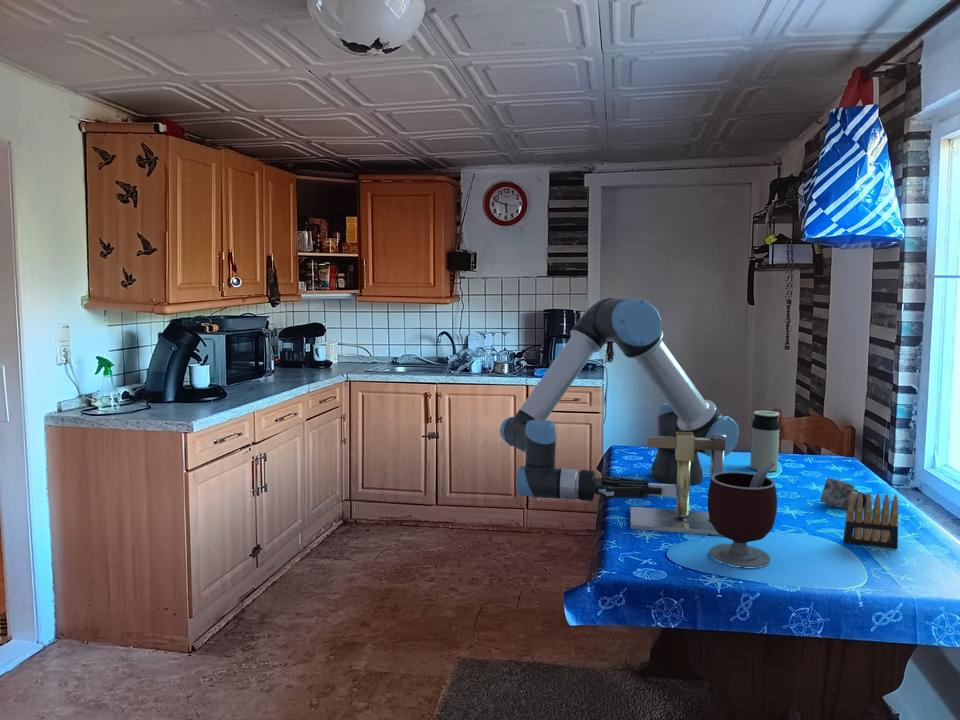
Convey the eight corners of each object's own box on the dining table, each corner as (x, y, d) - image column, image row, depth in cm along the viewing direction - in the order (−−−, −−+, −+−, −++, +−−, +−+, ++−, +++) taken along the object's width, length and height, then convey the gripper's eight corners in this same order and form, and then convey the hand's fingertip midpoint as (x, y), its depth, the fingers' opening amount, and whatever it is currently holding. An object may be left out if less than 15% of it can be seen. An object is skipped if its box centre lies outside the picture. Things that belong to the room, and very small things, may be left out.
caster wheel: (865, 511, 193) (866, 517, 184) (821, 497, 198) (819, 501, 189) (873, 488, 192) (874, 492, 183) (828, 474, 197) (827, 477, 189)
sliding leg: (674, 519, 174) (677, 435, 172) (672, 512, 179) (675, 430, 177) (691, 520, 173) (694, 436, 171) (689, 513, 178) (692, 431, 176)
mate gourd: (737, 574, 145) (742, 478, 143) (691, 550, 158) (695, 461, 156) (794, 562, 151) (799, 470, 149) (746, 540, 164) (750, 455, 162)
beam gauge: (630, 528, 171) (633, 436, 169) (630, 510, 185) (633, 425, 183) (745, 537, 166) (749, 442, 164) (736, 517, 180) (740, 429, 177)
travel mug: (781, 472, 222) (784, 415, 220) (755, 472, 222) (758, 415, 220) (771, 465, 230) (774, 410, 228) (746, 465, 230) (749, 410, 228)
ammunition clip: (895, 546, 161) (899, 494, 160) (897, 548, 159) (901, 496, 158) (843, 540, 165) (846, 489, 163) (844, 543, 163) (847, 491, 161)
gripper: (579, 491, 187) (673, 497, 182) (576, 507, 174) (676, 514, 169) (580, 463, 186) (674, 468, 181) (576, 477, 173) (677, 483, 168)
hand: (675, 490), depth 175 cm, fingers closed
